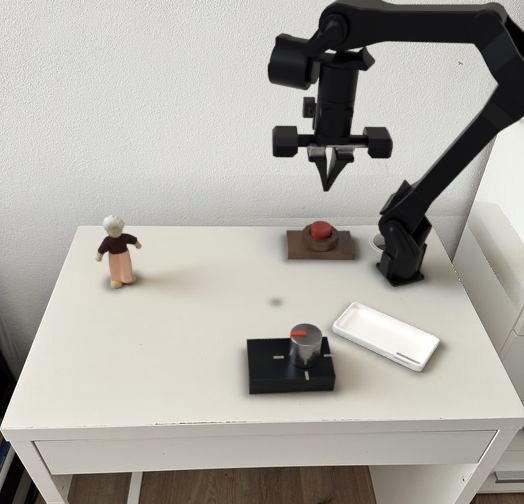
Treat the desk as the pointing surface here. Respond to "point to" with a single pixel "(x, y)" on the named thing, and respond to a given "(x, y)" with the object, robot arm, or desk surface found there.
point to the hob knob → (305, 345)
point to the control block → (319, 245)
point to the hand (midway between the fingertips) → (325, 190)
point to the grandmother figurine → (117, 251)
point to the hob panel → (286, 368)
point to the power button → (320, 230)
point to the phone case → (386, 335)
